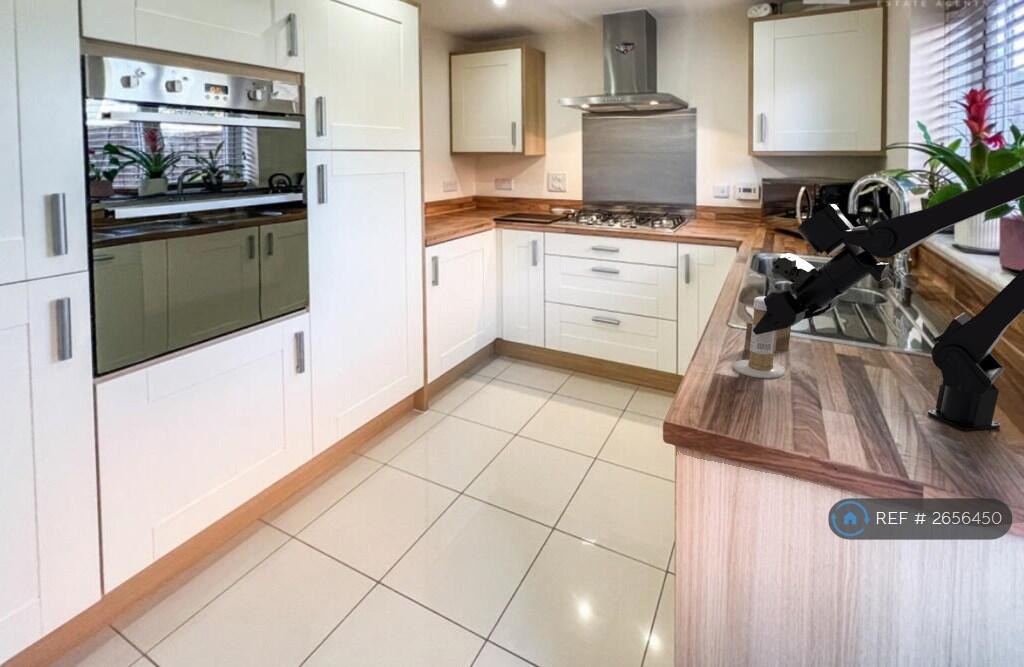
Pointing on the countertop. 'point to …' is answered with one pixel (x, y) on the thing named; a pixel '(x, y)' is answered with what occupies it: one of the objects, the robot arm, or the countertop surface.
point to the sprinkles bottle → (761, 341)
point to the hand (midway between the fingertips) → (766, 327)
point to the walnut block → (781, 338)
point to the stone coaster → (746, 370)
